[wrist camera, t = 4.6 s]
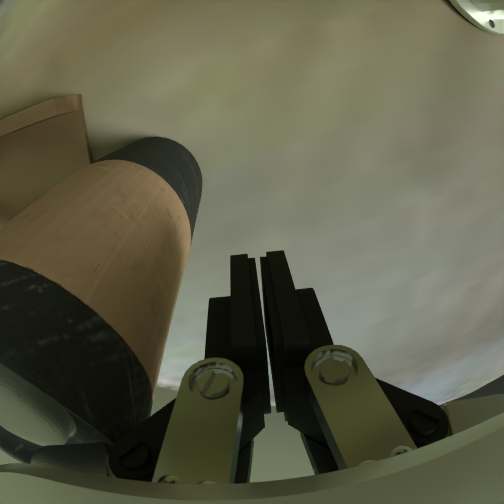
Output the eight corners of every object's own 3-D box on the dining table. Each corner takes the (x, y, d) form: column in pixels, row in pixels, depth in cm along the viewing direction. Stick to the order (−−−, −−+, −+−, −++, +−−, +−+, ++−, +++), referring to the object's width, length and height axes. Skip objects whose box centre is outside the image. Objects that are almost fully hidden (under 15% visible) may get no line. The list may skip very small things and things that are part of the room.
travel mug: (221, 151, 22) (168, 419, 4) (188, 240, 25) (133, 504, 8) (124, 120, 20) (-125, 264, 3) (102, 212, 23) (-45, 423, 6)
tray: (-60, 156, 18) (-85, 169, 15) (81, 94, 19) (54, 97, 15) (-18, 285, 26) (-35, 306, 23) (122, 276, 26) (108, 304, 23)
